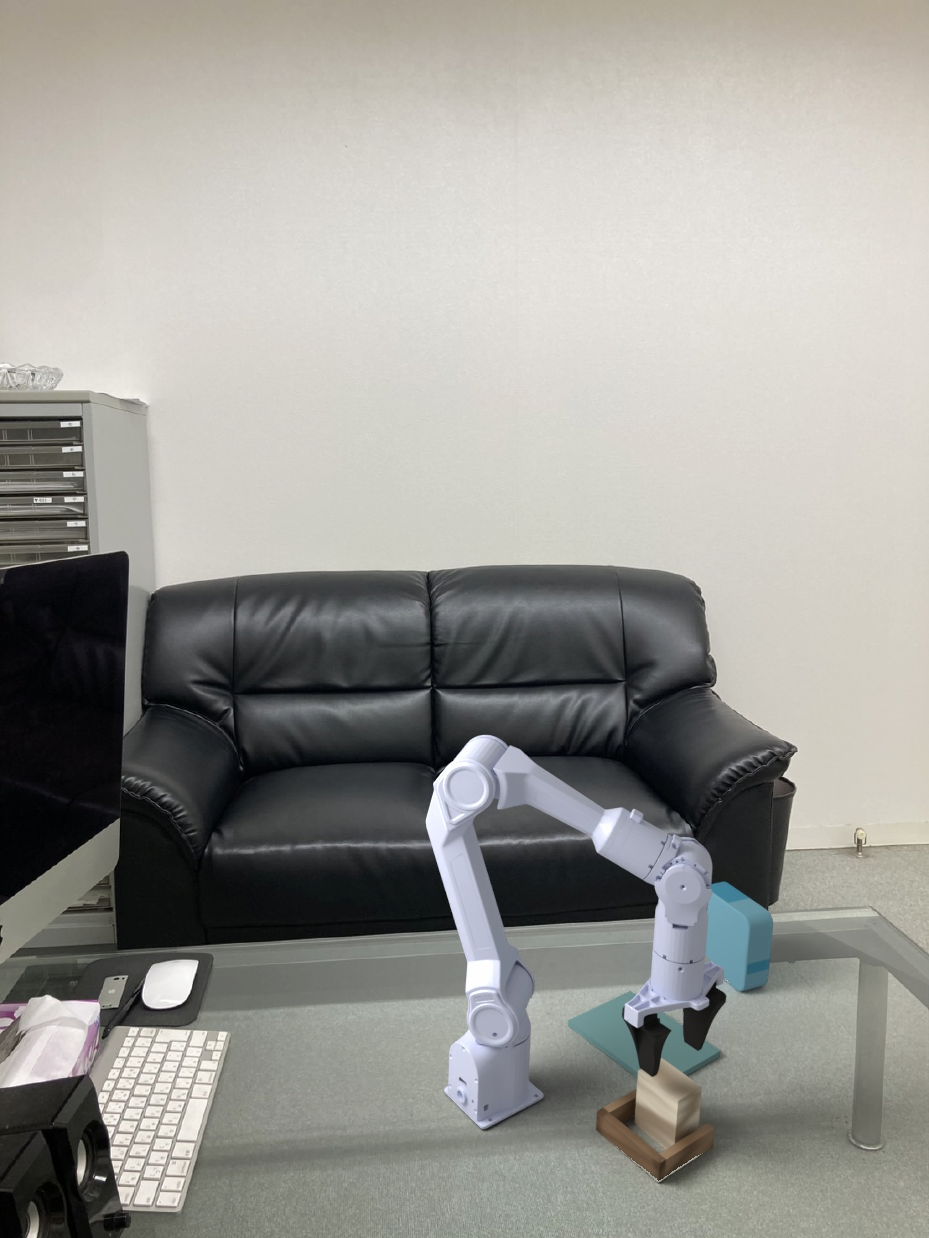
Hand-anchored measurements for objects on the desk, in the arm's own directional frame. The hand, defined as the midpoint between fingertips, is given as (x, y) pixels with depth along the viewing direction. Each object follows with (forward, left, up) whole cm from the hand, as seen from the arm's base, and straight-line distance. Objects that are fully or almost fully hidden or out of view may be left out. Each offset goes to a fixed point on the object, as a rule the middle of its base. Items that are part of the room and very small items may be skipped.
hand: (670, 1058), depth 107 cm
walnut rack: (-2, 0, -9) cm, 10 cm away
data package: (+33, +17, -10) cm, 38 cm away
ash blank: (0, 0, -10) cm, 10 cm away
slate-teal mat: (+10, +13, -9) cm, 19 cm away
